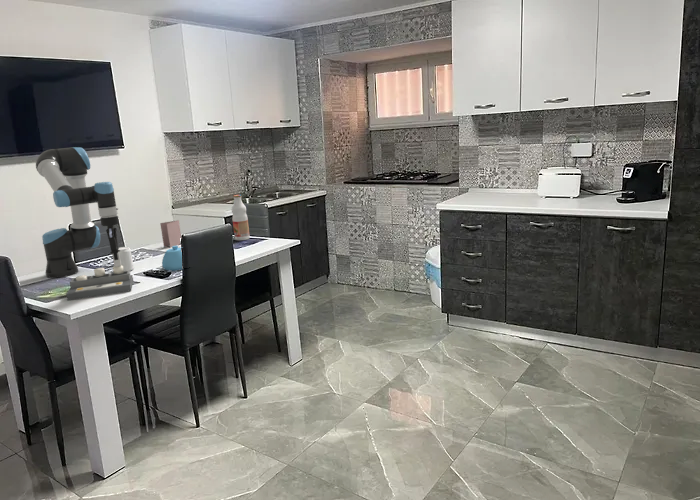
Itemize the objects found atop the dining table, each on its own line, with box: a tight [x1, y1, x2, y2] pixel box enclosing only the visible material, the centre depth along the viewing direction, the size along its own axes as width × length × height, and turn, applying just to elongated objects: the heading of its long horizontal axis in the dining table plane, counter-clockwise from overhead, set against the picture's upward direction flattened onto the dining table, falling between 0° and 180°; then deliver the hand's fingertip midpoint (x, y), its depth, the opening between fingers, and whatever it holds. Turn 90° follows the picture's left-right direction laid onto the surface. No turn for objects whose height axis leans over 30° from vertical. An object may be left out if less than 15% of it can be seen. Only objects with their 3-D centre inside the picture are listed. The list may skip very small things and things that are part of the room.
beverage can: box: [118, 246, 135, 272], centre depth 274 cm, size 8×8×12 cm
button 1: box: [75, 274, 88, 281], centre depth 242 cm, size 4×4×3 cm
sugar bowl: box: [161, 245, 183, 272], centre depth 274 cm, size 15×15×12 cm
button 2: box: [112, 265, 124, 274], centre depth 246 cm, size 4×4×3 cm
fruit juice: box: [231, 194, 250, 241], centre depth 332 cm, size 9×9×28 cm
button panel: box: [65, 270, 134, 301], centre depth 242 cm, size 18×26×6 cm
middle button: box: [93, 267, 107, 277], centre depth 244 cm, size 4×4×3 cm
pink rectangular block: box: [160, 219, 182, 249], centre depth 328 cm, size 11×7×15 cm, turn 124°
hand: (117, 266), depth 246 cm, fingers closed
